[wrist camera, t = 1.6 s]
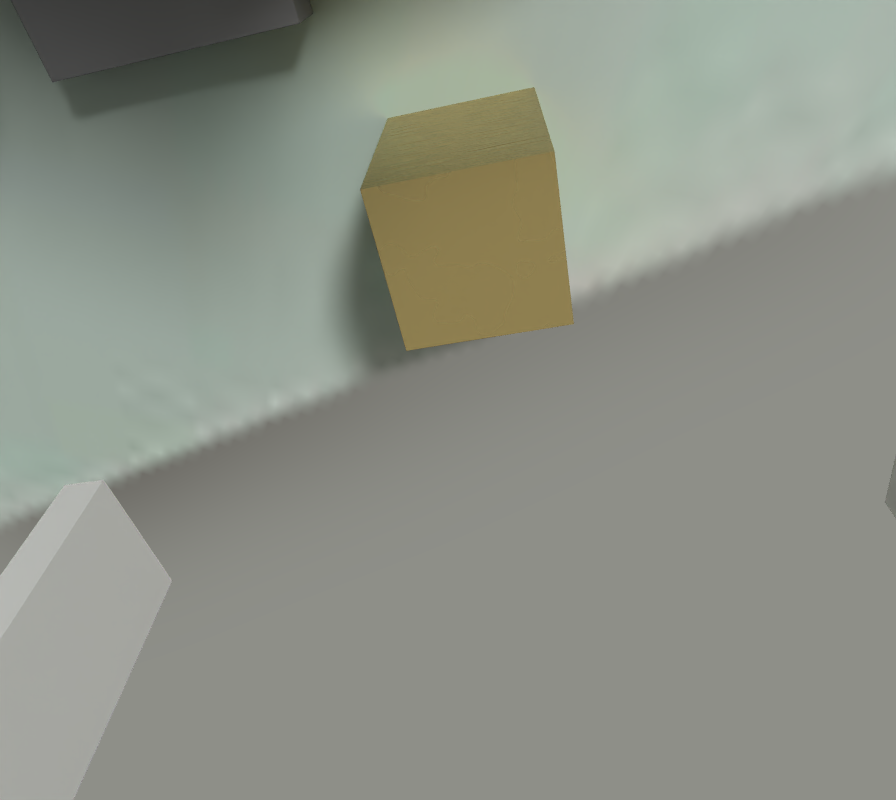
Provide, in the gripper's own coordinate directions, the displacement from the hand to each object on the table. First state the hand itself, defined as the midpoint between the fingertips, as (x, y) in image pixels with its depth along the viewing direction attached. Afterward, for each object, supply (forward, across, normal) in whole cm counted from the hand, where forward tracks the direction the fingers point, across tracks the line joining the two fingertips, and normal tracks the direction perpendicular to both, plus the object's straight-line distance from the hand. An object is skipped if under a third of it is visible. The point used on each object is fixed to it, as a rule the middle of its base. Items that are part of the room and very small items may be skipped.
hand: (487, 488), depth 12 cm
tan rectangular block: (+16, 0, 0) cm, 16 cm away
